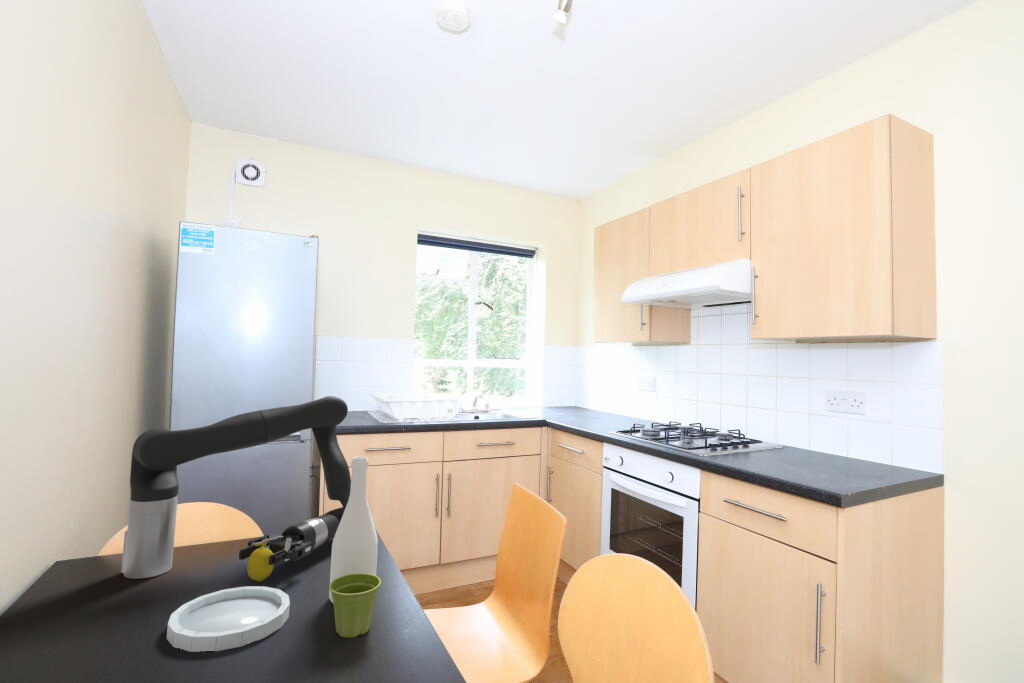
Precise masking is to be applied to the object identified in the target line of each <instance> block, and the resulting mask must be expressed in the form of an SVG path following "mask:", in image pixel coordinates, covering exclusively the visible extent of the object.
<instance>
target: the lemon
mask: <svg viewBox="0 0 1024 683" xmlns="http://www.w3.org/2000/svg"><path fill="white" fill-rule="evenodd" d="M272 554H273V553H272V551H271V550H270V549H269V547H268V548H267V547H266V548H265V547H264V546H261V547H260V548H258V549H256V550H255V551H254V552H253V553H252V554H251V555H250V557H248V561H247V565H246V571H247V574H248V576H249V578H250V579H251V580H253V581H256V582H257V583H262V582H263V580H265V579H267V578H268V577H270V575H271V573H272V572H273V570H274V567H275V565H269V556H270V555H272Z"/></svg>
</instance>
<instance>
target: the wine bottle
mask: <svg viewBox="0 0 1024 683" xmlns="http://www.w3.org/2000/svg"><path fill="white" fill-rule="evenodd" d="M369 462H370V461H369V458H368V456H353V457H352V459H351V462H350V468H351V475H350V477H351V488H350V496H349V500H348V503H347V506H346V508H345V511H344V513H343V516H342V519H341V521H340V524H339V526H338V529H337V531H336V534H335V537H334V538H333V540H332V544H331V558H330V572H329V584H330V583H331V582H332V581H333V580H335V579H336V578H339V577H341V576H344V575H348V574H355V573H368V574H373V575H376V576H377V566H378V565H377V564H378V549H379V545H378V544H379V540H378V534H377V530H376V527H375V524H374V520H373V517H372V512H371V509H370V506H369V502H368V497H367V496H368V495H367V485H368V484H367V483H368V482H367V481H368V469H369ZM328 590H329V592H328V598H329V600H330V603H332V604H333V605H334V602H333V598H332V593H331V591H330V589H329V588H328Z"/></svg>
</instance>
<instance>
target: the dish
mask: <svg viewBox="0 0 1024 683" xmlns="http://www.w3.org/2000/svg"><path fill="white" fill-rule="evenodd" d="M290 607H291V601H290V596H289V594H287V592H284V591H283V590H281V589H280V588H275V587H268V586H264V585H263V586H253V585H252V586H249V585H247V586H245V585H244V586H238V587H232V588H225V589H221V590H217V591H214V592H213V591H212V592H211V593H207V594H204V595H200V596H198V597H196V598H195V599H194V598H193V599H192V600H189V601H188V602H186V603H183V604H182V605H181V606H180V607H178V608H177V609H175V610H174V611H173V612H172V613H170V617H169V620H168V621H167V628H166V629H167V630H166V640H167V641H168V643H169V644H170V645H171V646H172V647H173V648H175V649H178V648H180V649H179V650H182V649H183V651H187V652H190V653H193V652H194V653H200V651H201V653H202V652H203V651H204V653H206V652H205V651H215V652H219V651H224V650H230V649H234V648H235V649H236V648H240V647H243V646H246V644H247V645H249V644H252V643H255V642H256V641H260V640H262V639H265V638H267V637H268V636H270V635H272V634H273V633H275V632H276V631H277V630H279V629H281V628H282V627H283V626H284V624H285V623H286V622H287V620H288V619H289V618H290ZM254 641H255V642H254ZM251 642H252V643H251Z"/></svg>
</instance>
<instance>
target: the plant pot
mask: <svg viewBox="0 0 1024 683" xmlns="http://www.w3.org/2000/svg"><path fill="white" fill-rule="evenodd" d="M381 584H382V580H381V578H380V577H379V576H377V574H376V575H373V574H368V573H355V574H348V575H344V576H341V577H339V578H336V579H335V580H333V581H332V582H331V583H330V582H329V586H328V587H329V588H328V590H329V589H330V591H331V593H332V598H333V602H334V604H333V610H334V622H335V632H336V633H337V634H338V636H340V637H342V638H347V639H348V638H350V639H351V638H353V639H354V638H356V637H358V636H360V635H365V634H366V633H367V632H368V631H369V630H370V628H371V623H372V617H373V611H374V607H375V600H376V596H377V593H378V592H379V591H378V590H379V587H380V586H381Z"/></svg>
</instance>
